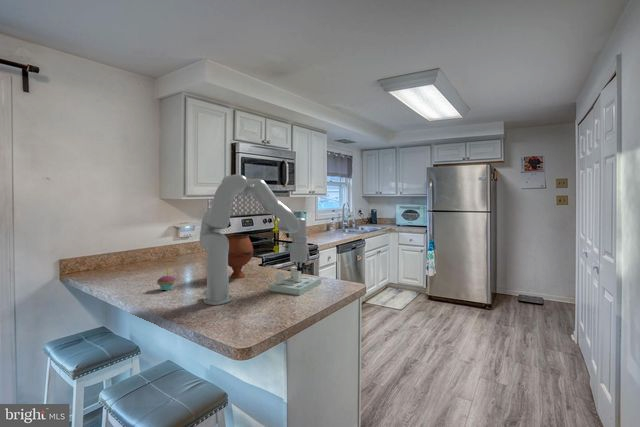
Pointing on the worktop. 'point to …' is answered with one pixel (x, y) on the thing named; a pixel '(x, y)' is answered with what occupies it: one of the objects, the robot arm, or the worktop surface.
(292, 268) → the switch
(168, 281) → the cupcake
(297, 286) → the switch box
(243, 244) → the goblet
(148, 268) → the worktop surface
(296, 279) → the switch
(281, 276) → the switch
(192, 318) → the worktop surface
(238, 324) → the worktop surface
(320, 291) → the worktop surface
